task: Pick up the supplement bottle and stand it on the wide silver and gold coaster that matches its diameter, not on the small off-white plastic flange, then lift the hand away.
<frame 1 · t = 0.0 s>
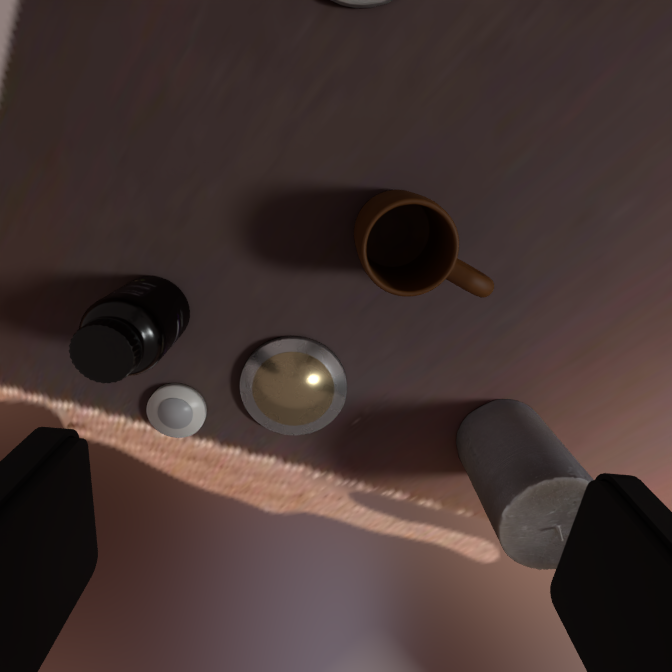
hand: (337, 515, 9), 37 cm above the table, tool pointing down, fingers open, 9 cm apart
pillar candle: (498, 434, 52), on the table
plastic flange: (178, 408, 49), on the table
mug: (413, 241, 44), on the table
supplement bottle: (157, 307, 46), on the table
silver and gold coaster: (294, 384, 49), on the table
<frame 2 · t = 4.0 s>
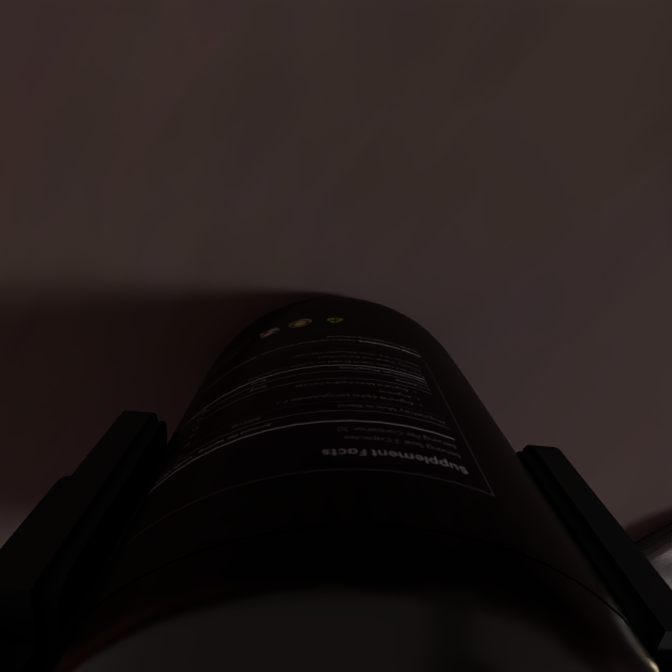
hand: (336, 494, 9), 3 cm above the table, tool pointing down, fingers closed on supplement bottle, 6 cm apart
supplement bottle: (334, 407, 13), on the table, touching gripper
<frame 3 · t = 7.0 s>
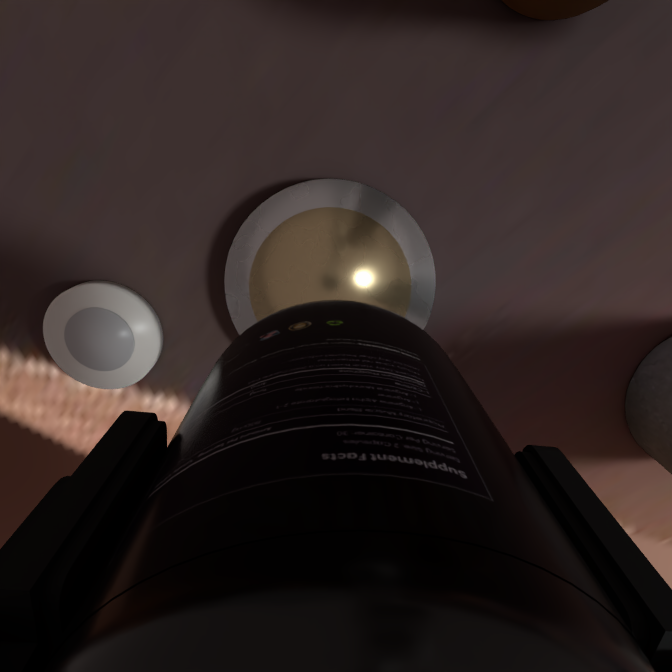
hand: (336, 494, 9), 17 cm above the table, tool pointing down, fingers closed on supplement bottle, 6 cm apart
plastic flange: (108, 332, 26), on the table
supplement bottle: (334, 409, 13), point 13 cm above the table, touching gripper
silver and gold coaster: (330, 285, 25), on the table
when the fingers open (6 cm above the table, at t = 10.4 s): supplement bottle drops 1 cm, resting on silver and gold coaster.
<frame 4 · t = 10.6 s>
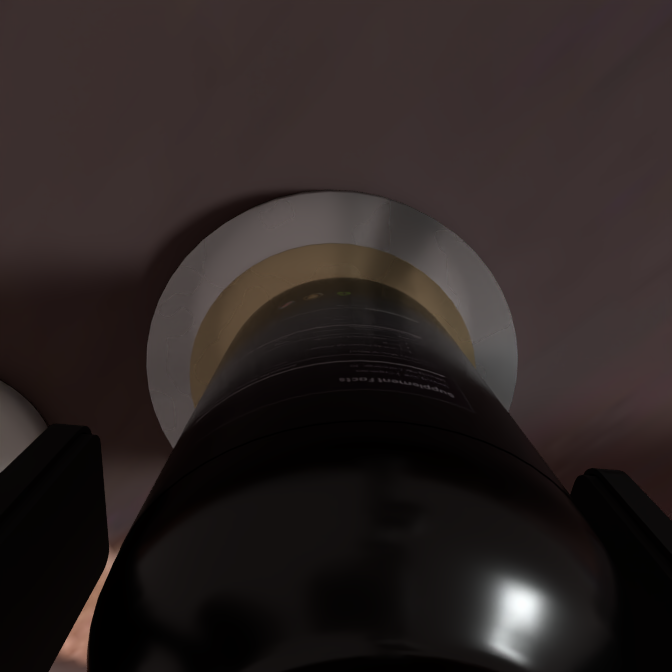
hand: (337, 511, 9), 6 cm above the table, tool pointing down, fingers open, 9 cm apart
supplement bottle: (341, 379, 14), point 1 cm above the table, touching silver and gold coaster
silver and gold coaster: (332, 369, 15), on the table
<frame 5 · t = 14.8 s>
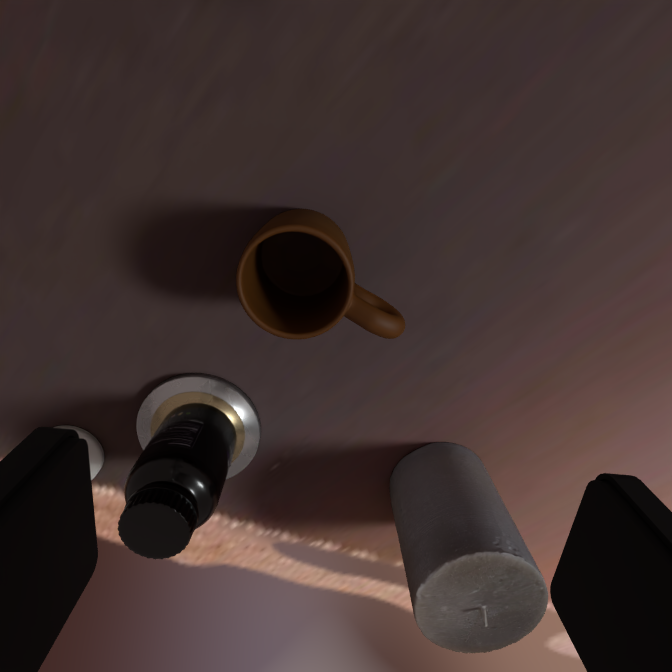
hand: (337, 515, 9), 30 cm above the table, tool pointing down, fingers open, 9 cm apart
pillar candle: (437, 480, 46), on the table
plastic flange: (71, 452, 44), on the table
mug: (326, 267, 38), on the table
supplement bottle: (200, 431, 42), point 1 cm above the table, touching silver and gold coaster
silver and gold coaster: (201, 427, 43), on the table
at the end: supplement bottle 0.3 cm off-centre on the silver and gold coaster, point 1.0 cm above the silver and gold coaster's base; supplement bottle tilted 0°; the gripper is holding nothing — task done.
